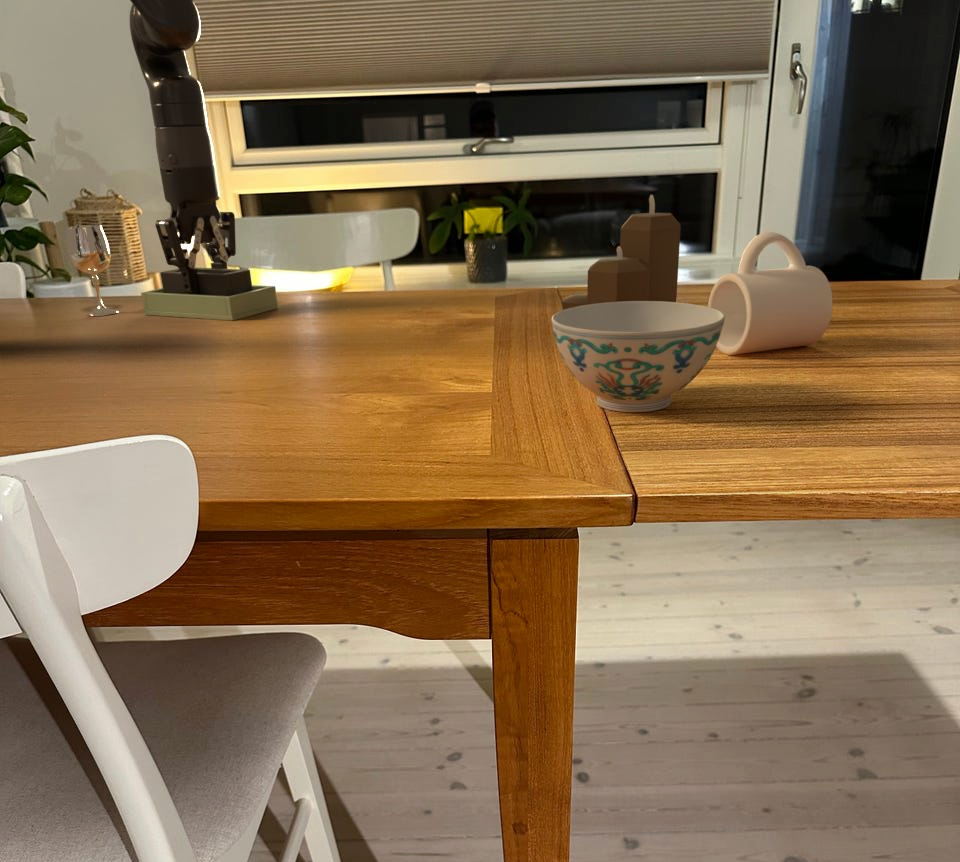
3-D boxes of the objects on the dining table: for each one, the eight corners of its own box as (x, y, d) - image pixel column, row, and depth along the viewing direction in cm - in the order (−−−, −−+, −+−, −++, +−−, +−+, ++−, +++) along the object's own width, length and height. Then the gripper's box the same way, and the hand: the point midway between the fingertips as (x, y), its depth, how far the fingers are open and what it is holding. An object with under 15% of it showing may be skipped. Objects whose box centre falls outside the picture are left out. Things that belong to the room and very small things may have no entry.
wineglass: (130, 311, 143) (113, 224, 137) (98, 318, 139) (78, 228, 133) (106, 308, 146) (88, 224, 140) (74, 315, 142) (54, 228, 136)
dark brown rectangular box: (164, 297, 140) (159, 272, 138) (190, 291, 144) (186, 267, 142) (228, 301, 135) (224, 275, 133) (253, 295, 139) (250, 269, 137)
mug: (827, 351, 103) (844, 231, 97) (746, 361, 100) (757, 238, 94) (781, 338, 110) (794, 225, 104) (703, 347, 107) (712, 232, 101)
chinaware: (601, 376, 97) (602, 296, 93) (743, 393, 89) (751, 307, 85) (520, 412, 86) (519, 323, 82) (674, 435, 78) (679, 338, 75)
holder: (145, 314, 140) (140, 292, 139) (193, 303, 148) (189, 282, 146) (232, 320, 133) (229, 297, 132) (278, 308, 141) (275, 286, 139)
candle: (647, 317, 124) (653, 190, 117) (703, 335, 113) (713, 196, 106) (551, 327, 120) (551, 197, 113) (599, 347, 109) (602, 203, 102)
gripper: (202, 161, 138) (221, 284, 146) (128, 166, 127) (153, 299, 135) (242, 160, 135) (259, 286, 143) (170, 166, 124) (193, 302, 132)
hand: (207, 292), depth 139 cm, fingers closed on dark brown rectangular box, 5 cm apart
